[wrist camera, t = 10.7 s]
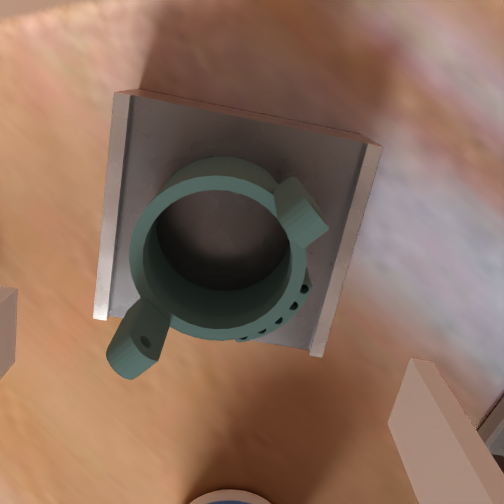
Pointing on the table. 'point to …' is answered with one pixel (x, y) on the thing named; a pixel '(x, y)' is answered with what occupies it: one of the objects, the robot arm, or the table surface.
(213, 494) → the supplement tub
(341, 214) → the stand
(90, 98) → the table surface
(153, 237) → the teal pail
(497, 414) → the tankard
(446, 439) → the robot arm
